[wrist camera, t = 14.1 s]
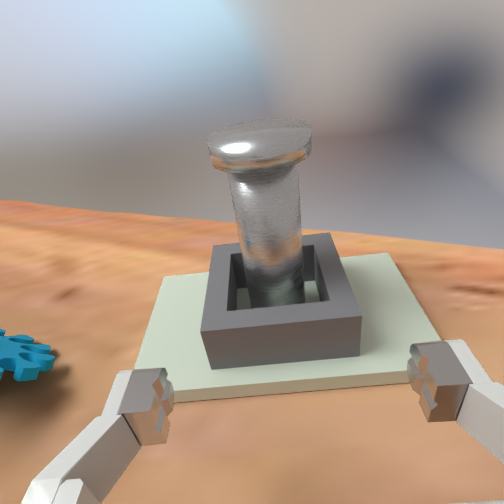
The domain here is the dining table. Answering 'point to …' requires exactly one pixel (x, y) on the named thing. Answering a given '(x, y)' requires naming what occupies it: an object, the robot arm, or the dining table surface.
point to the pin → (266, 203)
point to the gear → (23, 357)
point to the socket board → (285, 328)
